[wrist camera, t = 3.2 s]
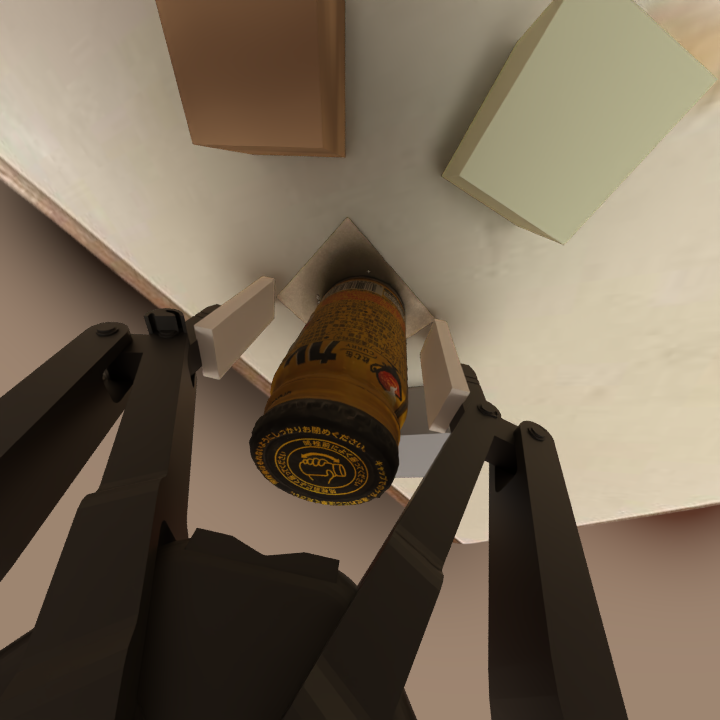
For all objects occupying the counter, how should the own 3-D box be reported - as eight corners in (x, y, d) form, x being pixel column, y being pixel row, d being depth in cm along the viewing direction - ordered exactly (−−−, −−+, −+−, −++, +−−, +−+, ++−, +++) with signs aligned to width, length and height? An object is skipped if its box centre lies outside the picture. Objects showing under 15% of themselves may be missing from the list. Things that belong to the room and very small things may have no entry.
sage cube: (516, 42, 11) (588, -41, 7) (605, 114, 12) (718, 79, 7) (441, 176, 13) (459, 175, 9) (517, 226, 14) (563, 245, 10)
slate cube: (381, 389, 22) (377, 436, 18) (442, 383, 21) (453, 432, 17) (391, 428, 25) (389, 477, 21) (445, 425, 24) (455, 476, 20)
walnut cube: (229, 5, 11) (129, -98, 7) (345, 2, 11) (312, -108, 7) (253, 154, 14) (193, 144, 10) (345, 157, 14) (322, 148, 9)
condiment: (359, 370, 21) (326, 534, 12) (277, 296, 18) (139, 429, 9) (435, 317, 18) (479, 485, 8) (348, 215, 15) (253, 285, 5)
